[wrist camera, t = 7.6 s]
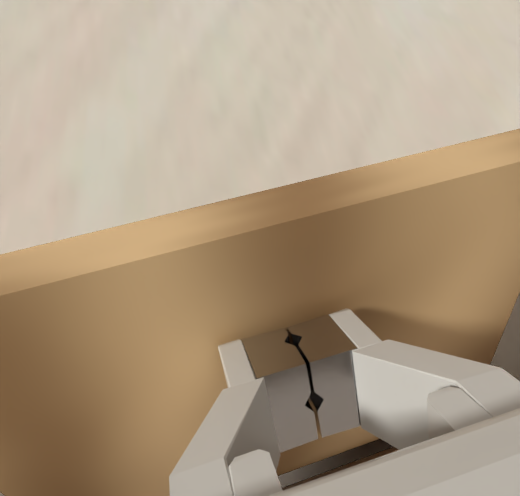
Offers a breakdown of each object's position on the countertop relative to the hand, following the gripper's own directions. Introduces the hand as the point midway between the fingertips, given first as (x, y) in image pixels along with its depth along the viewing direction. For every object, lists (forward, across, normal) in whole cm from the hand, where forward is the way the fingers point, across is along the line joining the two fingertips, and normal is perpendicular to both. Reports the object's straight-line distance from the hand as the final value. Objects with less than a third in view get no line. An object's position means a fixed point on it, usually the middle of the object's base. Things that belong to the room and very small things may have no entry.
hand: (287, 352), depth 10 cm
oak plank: (+2, 0, +1) cm, 2 cm away
